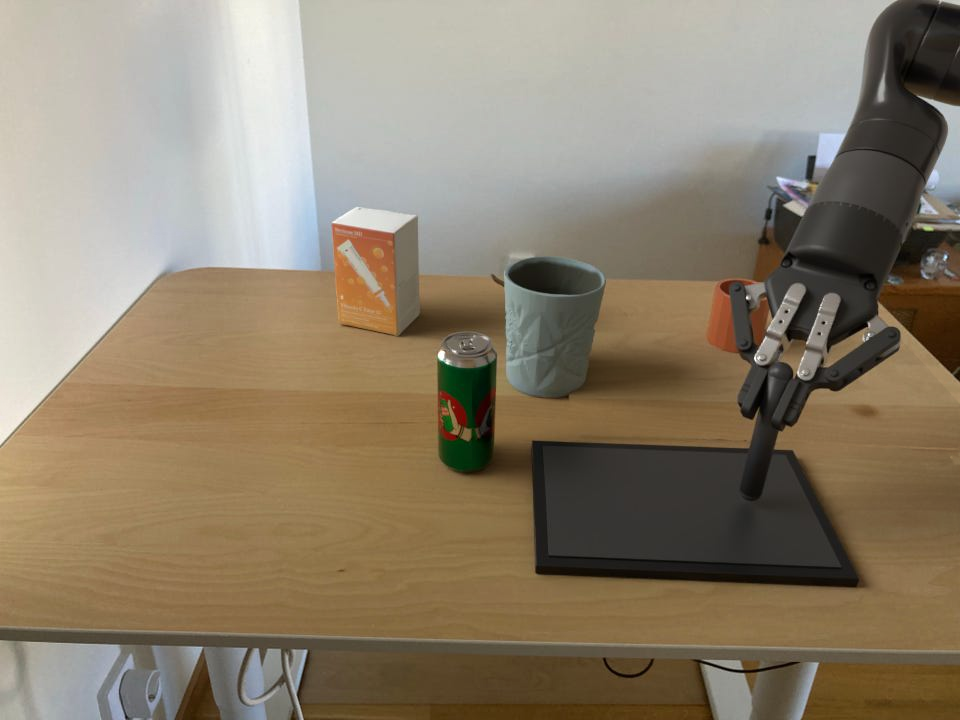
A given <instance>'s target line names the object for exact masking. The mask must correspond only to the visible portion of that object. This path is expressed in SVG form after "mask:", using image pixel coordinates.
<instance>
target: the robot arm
mask: <svg viewBox="0 0 960 720" xmlns="http://www.w3.org/2000/svg"><path fill="white" fill-rule="evenodd" d="M862 64H863V65H862V75H861V84H860V91H859V96H858V101H857V105H856V108H855V111H854V114H853V117H852V120H851V122H850V124H849V127H848V129H847V131H846V133H845V135H844V137H843V139H842V141H841V143H840V145H839V147H838V150H837V152H836V154H835V156H834V157H833V160H832V162H831V164H830V166H829V167H828V168H827V170H826V171H825V173H824V175H823V176H822V177H821V179H820V180H819V183H818V184H817V186H816V188H815V190H814V192H813V194H812V196H811V198H810V199H809V202H808V204H807V206H806V209H805V211H804V212H803V215H802V217H801V219H800V221H799V223H798V225H797V227H796V229H795V232H794V234H793V235H792V237H791V240H790V242H789V244H788V246H787V247H786V250H785V252H784V254H783V257H782V259H781V261H780V262H779V265H778V266H777V267H776V268H775V269H774V270H773V271H772V272H771V273H769V274H768V275H767V276H766V277H765V280H764V281H763V282H759V283H757V284H751V285H746V286H744V284H743V283H742V282H740V281H735V282H733V283H732V284H731V285H730V286H729V294H730V302H731V310H732V319H733V327H734V335H735V343H736V347H737V349H738V352H739V353H738V354H739V357H740V358H741V359H742V360H743V361H745V362H747V363H749V364H750V369H749V370H748V373H747V375H746V377H745V379H744V380H743V384H742V385H741V387H740V389H739V391H738V394H737V401H736V402H737V404H738V406H739V408H740V412H739V413H740V414H741V416H742V417H743V418H746V419H748V420H751V421H752V420H754V419H755V417H756V416H757V414H758V411H759V406H760V403H761V399H762V395H763V391H764V387H765V382H766V378H767V374H768V371H769V368H770V367H771V366H772V365H773V364H774V363H777V362H781V359H782V358H783V356H784V354H786V353H787V352H788V351H789V348H790V346H791V345H792V343H793V341H794V340H795V341H803V342H805V343H806V344H805V349H804V352H803V355H802V357H801V360H800V363H799V365H798V368H797V370H796V374H795V376H794V377H793V378H790V380H789V382H788V384H787V387H786V389H785V391H784V393H783V395H782V397H781V399H780V402H779V404H778V406H777V408H776V410H775V412H774V414H773V417H772V419H771V425H772V428H773V429H776V430H778V431H779V432H784V430H785V429H786V426H787V427H790V428H792V427H794V426H795V425H796V424H797V423H798V422H799V419H800V417H801V415H802V413H803V410H804V408H805V406H806V405H807V402H808V399H809V397H810V395H811V394H812V393H813V392H814V391H816V390H820V389H821V390H822V389H823V390H829V391H831V392H840V391H841V390H843V389H845V388H846V387H848V386H849V385H850V384H852V383H853V382H855V381H856V380H858V379H859V378H861V377H862V376H863V375H865V374H866V373H868V372H869V371H871V370H872V369H874V368H876V367H877V366H879V365H880V364H881V363H883V362H884V361H886V360H887V359H889V358H890V357H892V356H893V355H894V354H896V353H897V352H899V350H900V348H901V342H902V341H901V340H902V337H901V336H902V333H901V331H900V329H899V328H898V327H896V326H892V325H891V326H889V325H888V324H887V323H886V322H885V321H884V320H883V319H882V317H880V316H879V306H880V305H879V302H878V300H879V297H880V294H881V292H882V290H883V288H884V286H885V284H886V281H887V279H888V277H889V275H890V273H891V271H892V269H893V266H894V264H895V262H896V260H897V258H898V255H899V253H900V251H901V249H902V247H903V245H904V243H905V242H906V241H907V239H908V237H909V235H910V233H911V231H912V226H913V223H914V221H915V218H916V216H917V214H918V210H919V207H920V203H921V200H922V196H923V193H924V192H925V191H924V190H925V188H926V186H927V184H928V181H929V179H930V177H931V175H932V173H933V171H934V169H935V166H936V164H937V162H938V160H939V158H940V155H941V154H942V151H943V150H944V147H945V146H946V145H945V144H946V141H947V138H948V135H949V125H948V121H947V120H946V117H945V116H944V114H943V113H942V112H941V111H940V110H939V109H938V108H937V107H936V106H934V105H933V104H931V103H930V102H928V101H927V100H931V101H932V100H933V101H934V102H938V103H942V104H946V105H948V106H949V105H950V106H953V107H960V4H957V3H956V4H955V3H952V2H948V1H942V0H941V2H940V0H895V1H893V2H891V4H889V5H888V6H886V7H885V8H884V10H882V11H881V13H880V14H879V15H878V16H877V17H876V19H875V20H874V22H873V24H872V26H871V28H870V31H869V33H868V37H867V39H866V44H865V49H864V54H863V63H862ZM925 99H927V100H925ZM765 297H767V301H768V305H769V308H770V310H769V313H770V315H771V322H770V324H769V325H768V327H767V329H766V331H765V335H764V337H763V341H762V344H761V345H760V347H759V346H758V345H756V344H755V342H754V335H753V327H752V319H751V313H753V312H756V311H757V310H758V309H759V304H760V301H761V300H762V299H763V298H765ZM866 328H867V329H866ZM864 329H866V331H865V333H863V334H862V337H861V338H862V344H860V345H858V346H857V347H856V348H854V349H852V350H851V351H850V352H849V353H847V354H845V355H844V356H842V357H841V358H839V359H838V360H836V361H835V362H834V363H833V364H831V365H830V366H826V364H827V362H828V359H829V357H830V354H831V351H832V349H833V347H834V346H835V345H837V344H840V343H841V342H843V341H845V340H847V339H849V338H850V337H852V336H854V335H856V334H858V333H860V332H861V331H863V330H864Z"/></svg>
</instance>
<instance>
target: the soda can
mask: <svg viewBox="0 0 960 720" xmlns="http://www.w3.org/2000/svg"><path fill="white" fill-rule="evenodd" d="M436 366H437V367H436V369H437V371H436V373H437V374H436V375H437V377H436V378H437V443H438V444H437V451H438V452H437V454H438V458H439V460H440V462H441V463H442V464H444V465H445V466H446V467H447V468H449V469H451V470H452V471H455V472H459V473H474V472H478V471H480V470H482V469H484V468H485V467H487V466H488V465H489V464H490V463H491V462H492V460H493V459H494V456H495V435H496V434H495V433H496V432H495V431H496V429H495V428H496V406H497V405H496V403H497V374H498V373H497V372H498V352H497V351H496V349H495V348H494V342H493V340H492V339H491V338H490V337H489V336H488V335H486V334H484V333H480V332H476V331H458V332H453V333H450V334H448V335H446V336H445V337H444V338H442V341H441V346H440V348H439V349H438V350H437V354H436Z"/></svg>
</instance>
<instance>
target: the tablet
mask: <svg viewBox="0 0 960 720" xmlns="http://www.w3.org/2000/svg"><path fill="white" fill-rule="evenodd" d="M530 448H531V476H532V504H533V505H532V509H533V510H532V511H533V513H532V514H533V540H534V543H533V544H534V545H533V546H534V573H535V574H536V575H560V576H581V577H582V576H585V577H606V578H607V577H608V578H627V579H628V578H629V579H630V578H632V579H655V580H675V581H677V580H679V581H701V582H723V583H724V582H726V583H751V584H773V585H798V586H821V587H843V588H844V587H845V588H846V587H847V588H857V587H858V586H859V585H858V584H859V581H860V577H859V575H858V573H857V570H856V569H855V567H854V565H853V563H852V562H851V559H850V557H849V556H848V554H847V551H846V550H845V548H844V546H843V544H842V541H841V540H840V538H839V536H838V534H837V532H836V530H835V529H834V526H833V525H832V523H831V521H830V519H829V517H828V515H827V513H826V511H825V509H824V507H823V506H822V505H823V504H821V502H820V499H819V498H818V496H817V493H816V491H815V490H814V488H813V485H812V484H811V483H810V480H809V479H808V477H807V475H806V473H805V471H804V469H803V467H802V465H801V462H800V461H799V460H798V458H797V455H796V453H795V451H794V449H775V448H774V451H773V455H772V458H771V462H770V466H769V470H768V473H767V477H766V481H765V485H764V488H763V492H762V495H761V497H760V498H759V499H758V500H755V501H747V500H745V499H744V498H743V497H742V496H741V494H740V491H739V488H740V484H741V480H742V475H743V471H744V467H745V463H746V459H747V455H748V451H749V448H747V447H746V448H745V447H744V448H743V447H724V446H723V447H721V446H720V447H719V446H697V445H696V446H691V445H667V444H665V445H664V444H661V445H660V444H641V443H640V444H638V443H615V442H614V443H613V442H612V443H611V442H608V443H607V442H586V441H585V442H584V441H561V440H560V441H558V440H533V439H532V440H531V447H530Z"/></svg>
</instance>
